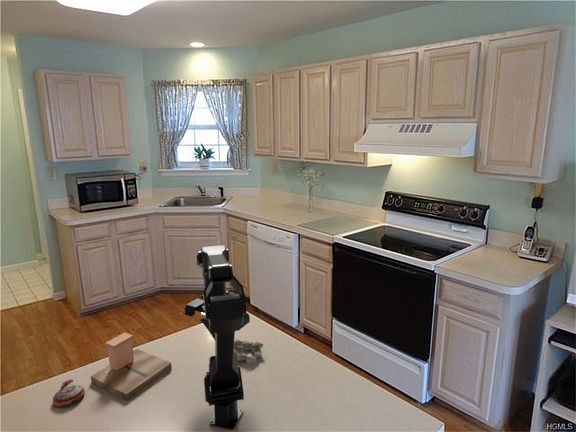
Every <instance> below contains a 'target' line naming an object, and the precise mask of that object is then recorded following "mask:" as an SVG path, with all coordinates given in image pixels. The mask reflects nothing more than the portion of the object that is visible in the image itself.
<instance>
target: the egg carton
mask: <svg viewBox="0 0 576 432" xmlns="http://www.w3.org/2000/svg"><path fill="white" fill-rule="evenodd" d="M263 347H264V343H261V342H257V341H256V342H253V341H252V342H250V341H247V340H244V341H243V340H240V339H235V340H234V354H235V358H236V359H237V362H242V361H246V362H245V363H246V364H248V365H251V364H255V363H256V362H257V358H261V357H262V356H263V355H262V354H263V353H262V352H263V350H262V348H263ZM245 351H251V353H252V354H250V353H249V354H246V353H245Z"/></svg>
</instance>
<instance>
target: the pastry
mask: <svg viewBox="0 0 576 432" xmlns="http://www.w3.org/2000/svg"><path fill="white" fill-rule="evenodd" d="M85 391H86V390H85V388H84V387H83V386H82V385H78V383H77V382H76V381H75V380H73V379H72V378H70V379H67V380H65V381H62V384H61V386H60V388H59V389H58V390H57V392H56V393H54V396H53V398H52V405H53V407H55V408H66V407H67V408H68V407H71V406H72V405H74V404H77V403H78V402H79V401H81V400H82V399H84V397H85Z"/></svg>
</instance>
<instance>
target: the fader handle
mask: <svg viewBox="0 0 576 432" xmlns="http://www.w3.org/2000/svg"><path fill="white" fill-rule="evenodd" d="M133 339H134V335H132V334H130V333H128V332H125V331H124V332H123V333H121V334H119V335H117V336H116V337H114V338H113V337H112V339H110V340H108V341H106V342H105V347H107V354H108V361H109V363H108V364H109V365H110V368H112V369H114V370H116V371H118V370H119V369H121V368H122V367H124V366H126V365H127V364H129V363H130V362H132V361H134V354H133V351H134V348H133V347H134V346H133Z"/></svg>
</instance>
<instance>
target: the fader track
mask: <svg viewBox="0 0 576 432" xmlns="http://www.w3.org/2000/svg"><path fill="white" fill-rule="evenodd" d="M133 354H134V361H132V362H130V363H129V364H127V365H126V366H124V367H122V368H121V369H119V370H118V371H116V370H114V369H112V368H110V364H109V365H107V366H106V367H104V368H103V369H101V370H99V371H97V372H96V373H94V374H92V375H91V376H90V380H91V383H92V384H93V385H95V386H97V387H100V388H102V389H104V390H105V391H107V392H109V393H111V394H114V395H115V396H117V397H119V398H121V399H123V400H124V401H129V400H130V399H131V398H133V397H134V396H136V395H137V394H139V393H140V392H141V391H143V390H144V389H145V388H147V387H148V386H149V385H151V384H152V383H154V382H155V381H157V380H158V379H159V378H161V377H163V375H165V374H167V373H168V372H170V371H171V370H172V362H170V361H168V360H165V359H163V358H160V357H158V356H156V355H154V354H151V353H148V352H146V351H143V350H141V349H138V348H135V349H133Z"/></svg>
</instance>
